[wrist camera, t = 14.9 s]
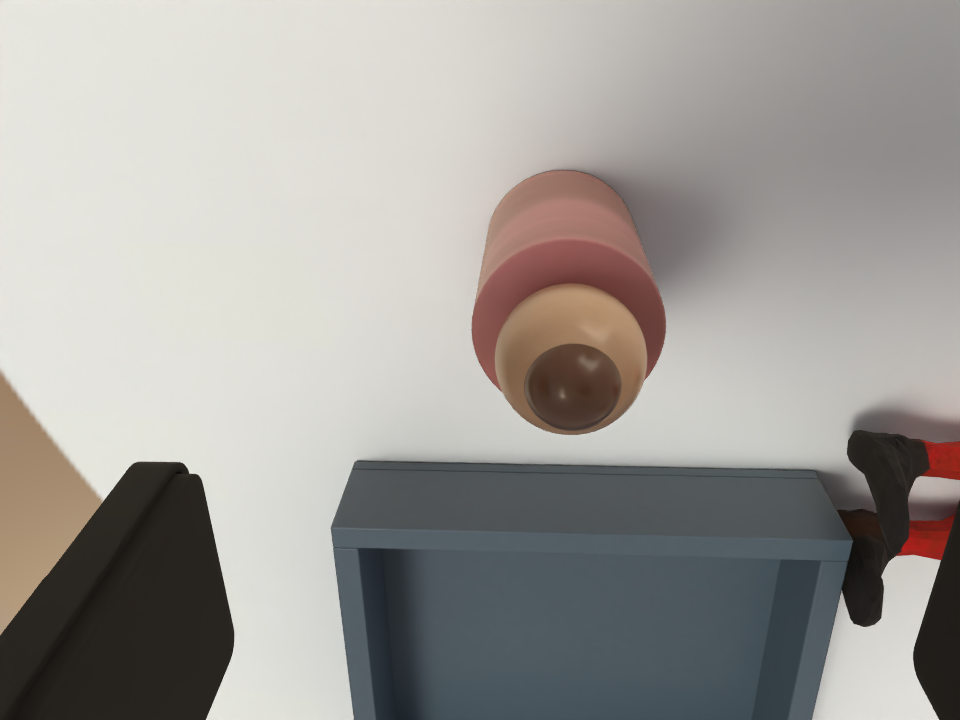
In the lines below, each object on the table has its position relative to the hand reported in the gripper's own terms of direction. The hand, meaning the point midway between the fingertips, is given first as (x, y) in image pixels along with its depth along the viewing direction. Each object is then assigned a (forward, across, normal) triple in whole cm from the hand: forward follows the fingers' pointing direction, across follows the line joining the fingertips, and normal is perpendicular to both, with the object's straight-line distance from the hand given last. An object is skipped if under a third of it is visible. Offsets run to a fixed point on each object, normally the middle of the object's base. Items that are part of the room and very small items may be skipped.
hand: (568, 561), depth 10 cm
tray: (+15, -1, +16) cm, 22 cm away
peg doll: (+15, 0, +1) cm, 15 cm away
